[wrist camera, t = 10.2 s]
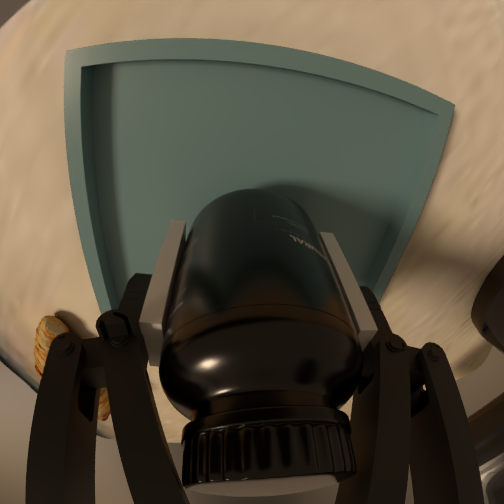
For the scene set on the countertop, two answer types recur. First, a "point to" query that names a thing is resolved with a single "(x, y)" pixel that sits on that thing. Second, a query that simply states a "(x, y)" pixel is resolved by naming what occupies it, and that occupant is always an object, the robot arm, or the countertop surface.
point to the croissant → (43, 339)
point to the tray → (242, 148)
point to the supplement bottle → (260, 352)
